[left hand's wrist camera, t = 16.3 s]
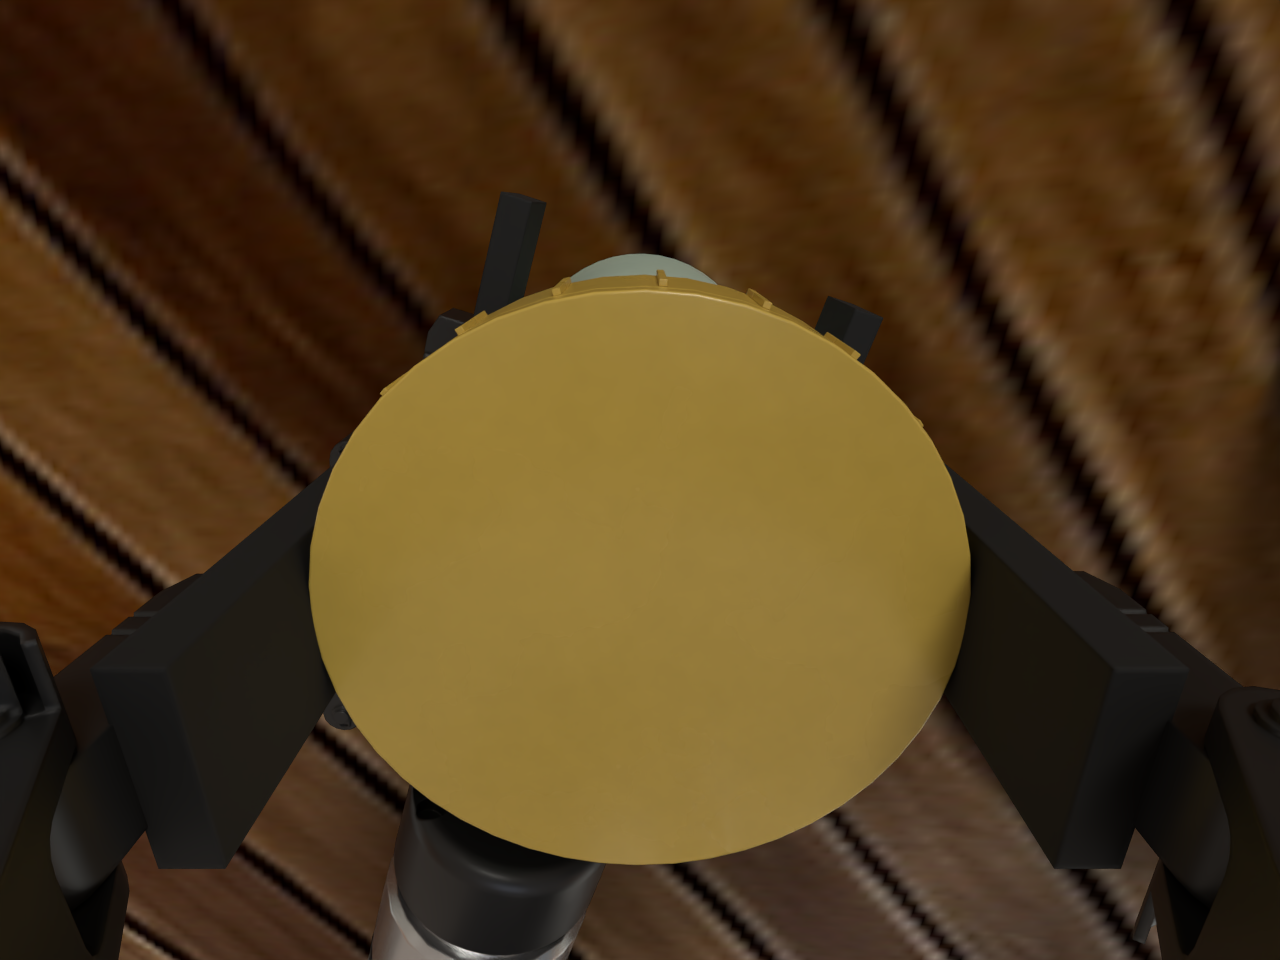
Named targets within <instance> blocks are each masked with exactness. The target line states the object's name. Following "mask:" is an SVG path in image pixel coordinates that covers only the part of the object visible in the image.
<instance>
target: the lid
mask: <svg viewBox="0 0 1280 960" xmlns="http://www.w3.org/2000/svg"><path fill="white" fill-rule="evenodd" d="M455 331H456V333H457V334H458V336H456V337H455V338H453V339H452V340H451V341H449V342H448V343H446V344H445V345H443V346H442V347H441V348H439V349H438V350H436V351H435V352H433V353H432V354H431V355H429V356H428V357H426V358H425V359H423V360H422V361H421V362H419V363H418V364H416V365H415V366H414V367H413V368H411V369H410V370H409V371H408V372H407V373H405V374H404V375H402V376H401V377H400V378H398V379H397V380H395V381H394V382H393V383H391V384H390V385H388V386H387V387H385V388H384V389H383V390H382V391H381V393H380V394H381V395H382V397H381V398H380V399H379V400H378V401H377V403H376V404H375V405H374V407H373V408H372V409H371V410H370V412H369V413H368V414H367V415H366V417H365V418H364V419H363V421H362V422H361V423H360V424H359V426H358V427H357V428H356V429H355V431H354V432H353V434H352V435H351V437H350V439H349V441H348V443H347V444H346V446H345V448H344V450H343V451H342V453H341V455H340V457H339V459H338V460H337V462H336V464H335V466H334V467H333V469H332V472H331V475H330V477H329V480H328V483H327V485H326V488H325V491H324V493H323V496H322V499H321V501H320V504H319V507H318V511H317V516H316V521H315V526H314V531H313V536H312V541H311V546H310V567H309V593H310V603H311V611H312V617H313V623H314V627H315V632H316V637H317V641H318V645H319V649H320V653H321V657H322V660H323V662H324V665H325V667H326V670H327V672H328V674H329V677H330V679H331V681H332V684H333V686H334V689H335V691H336V693H337V695H338V697H339V698H340V700H341V702H342V703H343V705H344V707H345V708H346V710H347V712H348V714H349V715H350V717H351V719H352V720H353V722H354V724H355V725H356V726H357V728H358V729H359V730H360V731H361V733H362V734H363V735H364V737H365V738H366V739H367V740H368V742H369V743H370V744H371V746H372V747H373V748H374V749H375V751H376V752H377V753H378V754H379V755H380V756H381V757H382V758H383V759H384V760H385V761H386V762H387V763H388V764H389V765H390V766H391V767H392V768H393V769H394V770H395V771H396V772H397V773H398V774H399V775H400V776H401V777H402V778H403V779H404V780H405V781H407V782H408V783H409V784H410V785H412V786H413V787H414V788H415V789H417V790H418V791H419V792H421V793H422V794H423V795H424V796H426V797H427V798H428V799H429V800H431V801H432V802H434V803H435V804H437V805H439V806H440V807H442V808H443V809H445V810H446V811H448V812H450V813H451V814H453V815H454V816H456V817H458V818H459V819H461V820H463V821H465V822H467V823H469V824H471V825H473V826H475V827H477V828H479V829H481V830H483V831H485V832H487V833H489V834H491V835H494V836H496V837H499V838H502V839H504V840H507V841H510V842H512V843H515V844H518V845H521V846H523V847H526V848H529V849H533V850H537V851H541V852H545V853H549V854H552V855H556V856H560V857H564V858H571V859H577V860H584V861H590V862H597V863H609V864H626V865H651V864H674V863H681V862H689V861H696V860H704V859H710V858H714V857H719V856H723V855H727V854H731V853H736V852H740V851H744V850H747V849H750V848H753V847H756V846H759V845H762V844H765V843H767V842H770V841H773V840H776V839H779V838H781V837H783V836H785V835H788V834H790V833H792V832H794V831H796V830H799V829H801V828H803V827H805V826H807V825H809V824H812V823H813V822H815V821H817V820H818V819H820V818H822V817H823V816H825V815H827V814H828V813H830V812H832V811H833V810H835V809H837V808H838V807H840V806H842V805H843V804H845V803H846V802H847V801H849V800H850V799H851V798H853V797H854V796H855V795H857V794H858V793H859V792H861V791H862V790H863V789H864V788H866V787H867V786H868V785H870V784H871V783H872V782H873V781H874V780H875V779H876V778H878V777H879V776H880V775H881V774H882V773H883V772H884V771H885V770H886V769H887V768H888V767H889V766H890V765H891V764H892V763H893V762H894V761H895V760H896V759H897V758H898V757H899V756H900V755H901V754H902V752H903V751H904V750H905V749H906V748H907V746H908V745H909V744H910V743H911V741H912V740H913V739H914V738H915V737H916V735H917V734H918V733H919V732H920V731H921V729H922V727H923V726H924V724H925V723H926V721H927V719H928V718H929V716H930V715H931V713H932V712H933V710H934V708H935V707H936V705H937V704H938V702H939V700H940V699H941V696H942V694H943V692H944V690H945V688H946V685H947V683H948V681H949V679H950V677H951V674H952V672H953V670H954V668H955V665H956V662H957V658H958V655H959V652H960V648H961V644H962V639H963V635H964V630H965V625H966V619H967V614H968V608H969V603H970V596H971V567H970V549H969V543H968V538H967V532H966V526H965V520H964V515H963V512H962V509H961V506H960V503H959V500H958V497H957V494H956V491H955V488H954V485H953V482H952V479H951V476H950V474H949V472H948V470H947V469H946V467H945V465H944V463H943V461H942V459H941V457H940V455H939V453H938V451H937V449H936V447H935V445H934V444H933V442H932V440H931V438H930V437H929V436H928V434H927V433H926V432H925V430H924V429H923V424H922V422H921V421H920V420H919V419H918V418H916V417H915V416H914V415H913V414H912V412H911V411H910V410H909V408H908V407H907V406H906V404H905V403H904V402H903V401H902V400H901V399H900V398H899V397H898V396H897V395H896V394H895V393H894V392H893V391H892V390H891V389H890V388H889V387H888V386H887V385H886V384H885V383H884V382H883V381H882V380H881V379H880V378H879V377H878V376H877V375H876V374H875V373H874V372H872V371H871V370H870V369H868V368H867V367H866V366H864V365H863V364H862V363H860V362H859V361H857V359H858V358H859V357H860V354H859V353H858V352H857V351H856V350H854V349H853V348H851V347H850V346H848V345H846V344H845V343H843V342H842V341H840V340H839V339H837V338H836V337H834V336H833V335H831V334H830V333H828V332H827V333H826V334H825V335H824V336H823V335H822V334H820V333H819V332H817V331H816V330H814V329H813V328H811V327H810V326H809V325H807V324H806V323H804V322H803V321H801V320H799V319H798V318H796V317H794V316H792V315H790V314H788V313H786V312H785V311H783V310H781V309H779V308H777V307H775V306H774V305H772V303H771V302H770V301H768V300H767V299H766V298H764V297H763V296H761V295H760V294H759V293H757V292H756V291H754V290H752V289H748V290H747V293H746V294H745V293H742V292H739V291H736V290H734V289H731V288H728V287H724V286H720V285H715V284H711V283H706V282H702V281H698V280H693V279H689V278H680V277H667V276H666V274H665V272H664V270H657V273H656V276H655V275H628V276H609V277H599V278H594V279H588V280H583V281H578V282H573V283H572V282H571V278H570V277H567V278H564V279H562V280H561V281H560V282H559V283H558V284H557V285H556V286H555V287H553V288H550V289H547V290H544V291H541V292H538V293H535V294H532V295H529V296H526V297H523V298H521V299H519V300H517V301H515V302H513V303H511V304H509V305H507V306H505V307H503V308H501V309H499V310H497V311H495V312H493V313H491V314H489V315H487V313H486V312H485V311H482V312H481V313H479V314H478V315H476V316H475V317H473V318H472V319H470V320H468V321H467V322H465V323H464V324H462V325H461V326H459V327H458V328H456V329H455Z"/></svg>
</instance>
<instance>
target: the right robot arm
mask: <svg viewBox="0 0 1280 960" xmlns="http://www.w3.org/2000/svg"><path fill="white" fill-rule="evenodd" d="M545 207H546V202H543V201H540V200H537V199H534V198H531V197H528V196H525V195H522V194H517V193H508V192H501V194H500V199H499V203H498V208H497V212H496V217H495V221H494V226H493V230H492V235H491V239H490V244H489V249H488V253H487V258H486V262H485V267H484V271H483V276H482V280H481V285H480V289H479V294H478V298H477V303H476V307H475V312H474V314H471V313H468V312H465V311H461V310H458V309H455V308H453V309H451V310H449V311H447V312H445V313H443V314H441V315H440V316H439V317H438V319H437V320H436V322H435V323H434V324H433V326H432V327H431V329H430V330H429V332H428V337H427V342H426V347H425V354H424V357H423V359H425V358H426V357H428V356H429V355H431V354H432V353H433V352H435V351H436V350H438V349H439V348H441V347H442V346H443V345H445V344H446V343H448V342H449V341H451V340H452V339H453V338H455V337H456V336H458V334H457V333H456V331H455V329H456V328H458V327H459V326H461V325H462V324H464V323H465V322H467V321H468V320H470V319H472V318H473V317H475V316H476V315H478V314H479V313H481V312H482V311H485V312H486V313H487V315H489V314H491V313H493V312H495V311H497V310H499V309H501V308H503V307H505V306H507V305H509V304H511V303H513V302H515V301H517V300H519V299H521V298H523V297H524V293H525V289H526V285H527V281H528V277H529V273H530V269H531V264H532V260H533V256H534V252H535V248H536V244H537V240H538V236H539V232H540V228H541V224H542V219H543V215H544V211H545ZM882 320H883V318H882V317H880V316H878V315H876V314H873V313H871V312H869V311H867V310H865V309H862V308H860V307H858V306H856V305H854V304H851V303H848V302H845V301H842V300H839V299H836V298H833V297H830V296H828V297H827V300H826V302H825V305H824V307H823V310H822V312H821V315H820V317H819V320H818V322H817V325H816V327H815V330H816V331H817V332H819V333H820V334H822V335H823V336H824V335H825V334H826V333H827V332H828V333H830V334H831V335H833V336H834V337H836V338H837V339H839V340H840V341H842V342H843V343H845V344H846V345H848V346H850V347H851V348H853V349H854V350H856V351H857V352H858V353H859V354H860V357H859V358H858V359H857V361H859V362H860V363H862V364H864V361H865V359H866V357H867V354H868V352H869V350H870V347H871V345H872V343H873V341H874V338H875V336H876V334H877V331H878V329H879V327H880V324H881V322H882ZM354 431H355V430H354ZM354 431H353V432H354ZM353 432H352V433H351V434H349V435H348V436H347V437H345V438H344V439H343V440H342V441H340V442H339V443H338V444H336V445H335V447H334V448H333V449H332V451H331V454H330V467H331V466H332V465H334V464H335V463H336V462H337V460H338V459H339V457H340V455H341V453H342V451H343V450H344V448H345V446H346V444H347V443H348V441H349V439H350V437H351V435H352V434H353ZM323 714H324V717H325V720H326V721H327V722H328V723H329V724H330V725H332V726H333V727H335V728H337V729H342V730H348V729H353V728H355V727H357V726H356V725H355V724H354V722H353V720H352V719H351V717H350V715H349V714H348V712H347V710H346V708H345V707H344V705H343V703H342V702H341V700H340V698H339V697H338V695H337V693H335V694H334V696H333V698H332V699H331V701H330V702H329V704H328V706H327V707H326V709H325V710H324V713H323ZM605 864H606V863H597V862H590V861H584V860H577V859H571V858H564V857H560V856H556V855H552V854H549V853H545V852H541V851H537V850H533V849H529V848H526V847H523V846H521V845H518V844H515V843H512V842H510V841H507V840H504V839H502V838H499V837H496V836H494V835H491V834H489V833H487V832H485V831H483V830H481V829H479V828H477V827H475V826H473V825H471V824H469V823H467V822H465V821H463V820H461V819H459V818H458V817H456V816H454V815H453V814H451V813H450V812H448V811H446V810H445V809H443V808H442V807H440V806H439V805H437V804H435V803H434V802H432V801H431V800H429V799H428V798H427V797H426V796H424V795H423V794H422V793H421V792H419V791H418V790H417V789H415V788H414V787H413V786H412V785H410V786H409V790H408V794H407V798H406V802H405V806H404V810H403V814H402V818H401V822H400V826H399V830H398V834H397V838H396V843H395V849H394V855H393V857H392V860H391V862H390V865H389V869H388V874H387V878H386V882H385V886H384V891H383V895H382V899H381V903H380V908H379V912H378V916H377V921H376V926H375V930H374V934H373V937H372V942H371V948H370V954H369V958H368V960H567V958H568V956H569V953H570V951H571V949H572V946H573V944H574V941H575V939H576V937H577V934H578V932H579V930H580V927H581V925H582V922H583V920H584V918H585V913H586V909H587V908H588V906H589V904H590V901H591V899H592V897H593V894H594V892H595V889H596V887H597V884H598V882H599V879H600V877H601V874H602V872H603V869H604V867H605Z"/></svg>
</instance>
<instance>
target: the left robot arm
mask: <svg viewBox="0 0 1280 960" xmlns="http://www.w3.org/2000/svg"><path fill="white" fill-rule="evenodd" d="M335 464H336V463H335ZM335 464H334V465H332V466H331V467H330V468H329V469H328V470H327V471H325V472H324V473H323V474H322V475H321V476H319V477H318V478H317V479H316V480H315V481H313V482H312V483H311V484H310V485H309V486H307V487H306V488H305V489H304V490H303V491H301V492H300V493H299V494H298V495H297V496H295V497H294V498H293V499H292V500H291V501H290V502H288V503H287V504H286V505H285V506H284V507H282V508H281V509H280V510H279V511H278V512H276V513H275V514H274V515H273V516H272V517H270V518H269V519H268V520H267V521H266V522H264V523H263V524H262V525H261V526H260V527H259V528H257V529H256V530H255V531H254V532H253V533H251V534H250V535H249V536H248V537H247V538H245V539H244V540H243V541H242V542H241V543H239V544H238V545H237V546H236V547H235V548H233V549H232V550H231V551H230V552H229V553H228V554H226V555H225V556H224V557H223V558H222V559H220V560H219V561H218V562H217V563H216V564H214V565H213V566H212V567H211V568H210V569H208V570H207V571H206V572H205V573H204V574H195V575H193V576H191V577H189V578H187V579H185V580H183V581H181V582H179V583H177V584H175V585H173V586H171V587H169V588H167V589H165V590H163V591H161V592H159V593H158V594H157V595H155V596H154V597H153V598H152V599H150V600H149V601H148V602H147V603H145V604H144V605H143V606H142V607H140V608H139V609H138V610H137V611H135V612H134V617H128V618H127V619H125V620H124V621H123V622H122V623H120V624H119V625H118V626H117V627H115V628H114V629H113V630H112V634H111V635H105V636H104V637H103V638H102V639H100V640H99V641H98V642H97V643H95V644H94V645H93V646H92V647H90V648H89V649H88V650H87V651H85V652H84V653H83V654H82V655H80V656H79V657H78V658H77V659H75V660H74V661H73V662H72V663H70V664H69V665H68V666H67V667H65V668H64V669H63V670H62V671H61V672H59V673H58V674H57V675H56V676H54V677H53V675H52V672H51V669H50V666H49V664H48V661H47V658H46V656H45V653H44V650H43V648H42V645H41V642H40V639H39V637H38V634H37V631H36V630H35V629H34V628H32V627H30V626H28V625H26V624H24V623H14V622H0V960H118V958H119V952H120V946H121V940H122V934H123V928H124V922H125V916H126V910H127V903H128V897H129V884H128V878H127V874H126V871H125V869H124V866H123V863H122V861H121V860H122V859H123V858H124V856H125V855H126V854H127V853H128V851H129V850H130V849H131V848H132V846H133V845H134V844H135V843H136V841H137V840H138V839H139V838H140V836H141V835H142V834H143V833H144V831H146V834H147V837H148V839H149V842H150V845H151V848H152V851H153V854H154V857H155V860H156V863H157V865H158V868H159V869H225V868H226V867H227V865H228V864H229V862H230V860H231V859H232V857H233V856H234V854H235V852H236V851H237V849H238V848H239V846H240V844H241V843H242V841H243V840H244V838H245V836H246V835H247V833H248V832H249V830H250V828H251V827H252V825H253V824H254V822H255V820H256V819H257V817H258V816H259V814H260V813H261V811H262V809H263V808H264V806H265V805H266V803H267V801H268V800H269V798H270V797H271V795H272V793H273V792H274V790H275V789H276V787H277V785H278V784H279V782H280V781H281V779H282V777H283V776H284V774H285V773H286V771H287V769H288V768H289V766H290V765H291V763H292V761H293V760H294V758H295V757H296V755H297V753H298V752H299V750H300V749H301V747H302V746H303V744H304V742H305V741H306V739H307V738H308V736H309V734H310V733H311V731H312V730H313V728H314V726H315V725H316V723H317V722H318V720H319V718H320V717H321V715H322V714H323V712H324V710H325V709H326V707H327V706H328V704H329V702H330V701H331V699H332V698H333V696H334V694H335V693H336V691H335V689H334V686H333V684H332V681H331V679H330V677H329V674H328V672H327V670H326V667H325V665H324V662H323V660H322V657H321V653H320V649H319V645H318V641H317V637H316V632H315V627H314V623H313V617H312V611H311V603H310V593H309V567H310V546H311V541H312V536H313V531H314V526H315V521H316V516H317V511H318V507H319V504H320V501H321V499H322V496H323V493H324V491H325V488H326V485H327V483H328V480H329V477H330V475H331V472H332V469H333V467H334V466H335ZM944 465H945V467H946V469H947V470H948V472H949V474H950V476H951V479H952V482H953V485H954V488H955V491H956V494H957V497H958V500H959V503H960V506H961V509H962V512H963V515H964V520H965V526H966V532H967V538H968V543H969V549H970V567H971V596H970V603H969V608H968V614H967V619H966V625H965V630H964V635H963V639H962V644H961V648H960V652H959V655H958V658H957V662H956V665H955V668H954V670H953V672H952V674H951V677H950V679H949V681H948V683H947V685H946V688H945V690H944V694H945V695H946V697H947V698H948V700H949V702H950V703H951V705H952V706H953V708H954V710H955V711H956V713H957V714H958V716H959V718H960V719H961V721H962V722H963V724H964V725H965V727H966V729H967V730H968V732H969V733H970V735H971V737H972V738H973V740H974V741H975V743H976V745H977V746H978V748H979V749H980V751H981V753H982V754H983V756H984V757H985V759H986V761H987V762H988V764H989V765H990V767H991V769H992V770H993V772H994V773H995V775H996V777H997V778H998V780H999V781H1000V783H1001V785H1002V786H1003V788H1004V789H1005V791H1006V792H1007V794H1008V796H1009V797H1010V799H1011V800H1012V802H1013V804H1014V805H1015V807H1016V808H1017V810H1018V812H1019V813H1020V815H1021V816H1022V818H1023V820H1024V821H1025V823H1026V824H1027V826H1028V828H1029V829H1030V831H1031V832H1032V834H1033V836H1034V837H1035V839H1036V840H1037V842H1038V844H1039V845H1040V847H1041V848H1042V850H1043V852H1044V853H1045V855H1046V856H1047V858H1048V859H1049V861H1050V863H1051V864H1052V866H1053V867H1054V869H1121V867H1122V864H1123V861H1124V858H1125V855H1126V852H1127V849H1128V846H1129V844H1130V841H1131V838H1132V835H1133V832H1134V829H1135V828H1136V829H1137V830H1138V832H1139V833H1140V834H1141V835H1142V837H1143V838H1144V839H1145V840H1146V842H1147V843H1148V844H1149V845H1150V847H1151V848H1152V849H1153V850H1154V852H1155V853H1156V854H1157V855H1158V857H1159V861H1158V863H1157V866H1156V869H1155V871H1154V874H1153V877H1152V879H1151V882H1150V885H1149V888H1148V890H1147V893H1146V896H1145V898H1144V901H1143V904H1142V906H1141V909H1140V912H1139V914H1138V917H1137V920H1136V923H1135V927H1134V934H1133V940H1136V941H1138V942H1141V943H1144V944H1145V941H1146V939H1147V936H1148V934H1149V931H1150V928H1151V927H1152V926H1154V925H1157V932H1158V938H1159V944H1160V950H1161V956H1162V960H1280V690H1275V689H1268V688H1262V687H1255V686H1251V687H1243V686H1241V685H1240V684H1239V683H1238V682H1236V681H1235V680H1234V679H1233V678H1231V677H1230V676H1229V675H1228V674H1226V673H1225V672H1224V671H1223V670H1221V669H1220V668H1219V667H1217V666H1216V665H1215V664H1214V663H1212V662H1211V661H1210V660H1209V659H1207V658H1206V657H1205V656H1204V655H1202V654H1201V653H1200V652H1199V651H1197V650H1196V649H1195V648H1194V647H1192V646H1191V645H1190V644H1189V643H1187V642H1186V641H1185V640H1183V639H1182V638H1181V637H1180V636H1178V635H1177V634H1176V633H1175V632H1169V630H1168V627H1167V626H1166V625H1165V624H1163V623H1162V622H1161V621H1160V620H1158V619H1157V618H1156V617H1155V616H1153V615H1152V614H1147V613H1146V609H1144V608H1143V607H1142V606H1141V605H1139V604H1138V603H1137V602H1136V601H1134V600H1133V599H1132V598H1131V597H1129V596H1128V595H1127V594H1126V593H1124V592H1123V591H1122V590H1121V589H1119V588H1117V587H1115V586H1113V585H1111V584H1109V583H1107V582H1105V581H1102V580H1100V579H1098V578H1096V577H1094V576H1092V575H1090V574H1088V573H1086V572H1084V571H1072V570H1071V569H1070V568H1069V567H1067V566H1066V565H1065V564H1064V563H1063V562H1062V561H1060V560H1059V559H1058V558H1057V557H1056V556H1054V555H1053V554H1052V553H1051V552H1050V551H1048V550H1047V549H1046V548H1045V547H1044V546H1042V545H1041V544H1040V543H1039V542H1038V541H1036V540H1035V539H1034V538H1033V537H1032V536H1031V535H1029V534H1028V533H1027V532H1026V531H1025V530H1023V529H1022V528H1021V527H1020V526H1019V525H1017V524H1016V523H1015V522H1014V521H1013V520H1011V519H1010V518H1009V517H1008V516H1007V515H1005V514H1004V513H1003V512H1002V511H1001V510H1000V509H998V508H997V507H996V506H995V505H994V504H992V503H991V502H990V501H989V500H988V499H986V498H985V497H984V496H983V495H982V494H980V493H979V492H978V491H977V490H976V489H974V488H973V487H972V486H971V485H970V484H969V483H967V482H966V481H965V480H964V479H963V478H961V477H960V476H959V475H958V474H957V473H955V472H954V471H953V470H952V469H951V468H949V467H948V466H947V465H946V464H945V463H944Z"/></svg>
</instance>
